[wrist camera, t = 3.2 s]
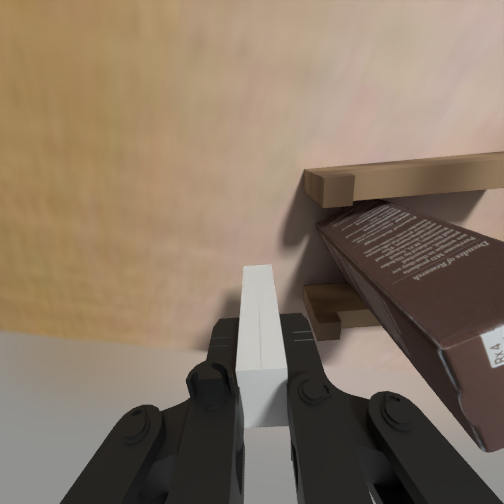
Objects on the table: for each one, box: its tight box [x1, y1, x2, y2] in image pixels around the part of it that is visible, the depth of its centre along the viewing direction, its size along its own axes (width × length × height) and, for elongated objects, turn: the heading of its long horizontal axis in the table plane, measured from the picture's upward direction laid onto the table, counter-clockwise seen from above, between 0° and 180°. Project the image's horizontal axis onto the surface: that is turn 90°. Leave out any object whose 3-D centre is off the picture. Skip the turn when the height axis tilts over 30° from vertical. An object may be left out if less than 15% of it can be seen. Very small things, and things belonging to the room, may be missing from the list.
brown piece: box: [303, 152, 504, 341], centre depth 16 cm, size 13×11×4 cm
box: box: [316, 199, 504, 452], centre depth 12 cm, size 6×4×12 cm
